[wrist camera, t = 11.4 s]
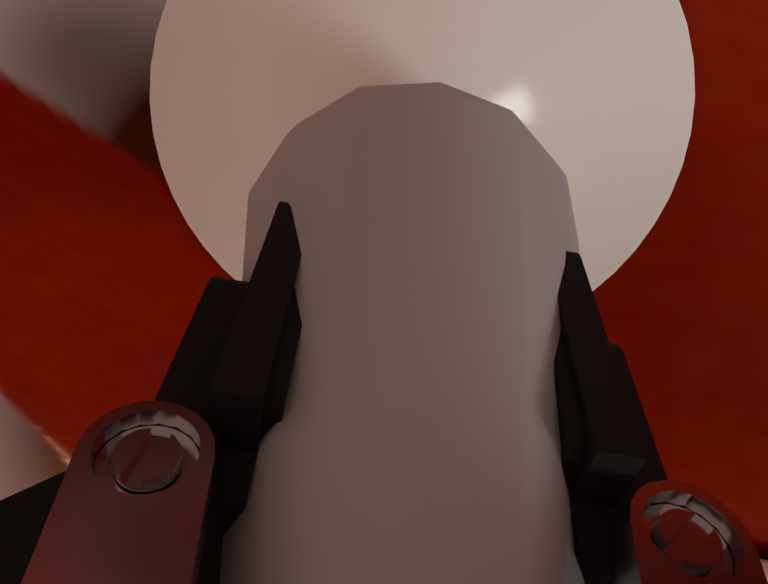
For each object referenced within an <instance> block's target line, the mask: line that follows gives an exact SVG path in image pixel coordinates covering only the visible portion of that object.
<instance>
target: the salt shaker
mask: <svg viewBox="0 0 768 584" xmlns="http://www.w3.org/2000/svg"><path fill="white" fill-rule="evenodd" d="M279 201H283V202H286V203H289V205H290V206H291V209H292V213H293V218H294V222H295V227H296V231H297V236H298V240H299V245H300V249H301V254H302V255H301V259H300V263H299V268H298V272H297V276H296V280H295V284H294V287H295V292H296V297H297V302H298V307H299V312H300V318H301V323H302V327H301V332H300V337H299V341H298V346H297V351H296V355H295V360H294V365H293V370H292V374H291V379H290V384H289V388H288V393H287V398H286V402H285V407H284V412H283V416H282V421H281V422H279V423H276V424H275V425H274V426H273V427H272V428H271V429H270V430H269V431H268V433H267V434H266V435H265V436H264V437H263V438H262V439H261V440H260V441H259V447H258V452H257V456H256V461H255V465H254V470H253V474H252V478H251V483H250V487H249V491H248V496H247V500H246V504H245V509H244V510H243V511H242V513H241V514H240V515H239V517H238V518H237V519H236V520H235V522H234V523H233V524H232V526H231V527H230V528H229V530H228V531H227V532H226V533H225V535H224V536H223V543H222V556H221V570H220V583H219V584H584V579H583V576H582V573H581V570H580V568H579V565H578V562H577V559H576V557H575V549H574V539H573V528H572V517H571V506H570V496H569V492H570V491H569V489H568V488H567V484H566V480H565V476H564V472H563V468H562V456H561V441H560V430H559V419H558V408H557V397H556V386H555V375H554V359H555V354H556V350H557V345H558V341H559V337H560V332H561V328H562V326H561V322H560V312H559V302H558V291H559V287H560V282H561V278H562V274H563V270H564V266H565V256H566V251H570V252H576V253H579V241H578V236H577V230H576V225H575V219H574V214H573V209H572V203H571V198H570V192H569V187H568V181H567V176H566V175H565V174H564V172H563V171H562V169H561V168H560V167H559V165H558V164H557V163H556V162H555V160H554V159H553V158H552V157H551V156H550V154H549V153H548V152H547V151H546V150H545V149H544V147H543V146H542V145H541V144H540V143H539V142H538V140H537V139H536V138H535V137H534V136H533V135H532V133H531V132H530V131H529V130H528V129H527V128H526V126H525V125H524V124H523V123H522V122H521V120H520V119H519V118H518V117H517V116H516V115H515V113H514V112H513V111H512V110H510V109H508V108H505V107H503V106H500V105H497V104H495V103H492V102H490V101H487V100H485V99H482V98H480V97H477V96H475V95H472V94H469V93H467V92H464V91H462V90H459V89H457V88H454V87H452V86H449V85H446V84H444V83H441V82H431V83H412V84H394V85H376V86H360V87H358V88H356V89H355V90H353V91H351V92H350V93H348V94H346V95H345V96H343V97H341V98H340V99H338V100H336V101H335V102H333V103H331V104H330V105H328V106H326V107H324V108H323V109H321V110H319V111H318V112H316V113H314V114H313V115H311V116H309V117H308V118H306V119H304V120H303V121H301V122H299V123H298V124H296V125H295V126H294V127H293V128H292V129H291V130H290V131H289V132H288V133H287V135H286V136H285V138H284V139H283V141H282V142H281V144H280V145H279V147H278V148H277V150H276V151H275V153H274V155H273V156H272V158H271V159H270V161H269V162H268V164H267V165H266V167H265V168H264V170H263V171H262V173H261V174H260V176H259V178H258V179H257V181H256V182H255V184H254V185H253V187H252V188H251V190H250V191H249V193H248V207H247V220H246V234H245V247H244V260H243V274H242V281H245V282H249V281H250V278H251V276H252V273H253V270H254V267H255V265H256V262H257V259H258V257H259V254H260V251H261V248H262V246H263V243H264V240H265V238H266V235H267V232H268V229H269V227H270V224H271V221H272V219H273V216H274V213H275V211H276V208H277V205H278V203H279Z"/></svg>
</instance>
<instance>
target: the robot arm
mask: <svg viewBox="0 0 768 584" xmlns="http://www.w3.org/2000/svg"><path fill="white" fill-rule="evenodd" d="M301 255H302V254H301V249H300V245H299V240H298V236H297V231H296V227H295V222H294V218H293V213H292V209H291V206H290V205H289V203H286V202H283V201H279V203H278V205H277V208H276V211H275V213H274V216H273V219H272V221H271V224H270V227H269V229H268V232H267V235H266V238H265V240H264V243H263V246H262V248H261V251H260V254H259V257H258V259H257V262H256V265H255V267H254V270H253V273H252V276H251V278H250V281H249V282H245V281H239V280H233V279H227V278H221V277H215V276H214V277H212V278H211V279H210V280H209V282H208V284H207V286H206V288H205V290H204V293H203V295H202V297H201V299H200V301H199V304H198V306H197V308H196V310H195V312H194V315H193V317H192V319H191V321H190V324H189V326H188V328H187V330H186V332H185V335H184V337H183V339H182V341H181V343H180V346H179V348H178V350H177V352H176V354H175V357H174V359H173V361H172V363H171V365H170V368H169V370H168V372H167V374H166V377H165V379H164V381H163V383H162V385H161V388H160V390H159V392H158V394H157V396H156V399H155V401H142V402H137V403H133V404H129V405H125V406H121V407H119V408H117V409H115V410H113V411H111V412H109V413H107V414H105V415H103V416H101V417H100V418H99V419H98V420H97V421H95V422H94V423H93V424H92V425H91V426H90V427H89V428H87V429H86V431H85V433H84V434H83V436H82V437H81V439H80V441H79V442H78V444H77V446H76V448H75V451H74V453H73V455H72V458H71V460H70V463H69V465H68V468H67V470H66V471H65V472H63V473H60V474H58V475H56V476H54V477H51V478H49V479H47V480H45V481H43V482H41V483H38V484H36V485H34V486H32V487H30V488H27V489H25V490H23V491H20V492H18V493H16V494H14V495H12V496H9V497H7V498H5V499H3V500H1V501H0V584H219V583H220V570H221V556H222V543H223V536H224V535H225V533H226V532H227V531H228V530H229V528H230V527H231V526H232V524H233V523H234V522H235V520H236V519H237V518H238V517H239V515H240V514H241V513H242V511H243V510H244V509H245V504H246V500H247V496H248V491H249V487H250V483H251V478H252V474H253V470H254V465H255V461H256V456H257V452H258V447H259V441H260V440H261V439H262V438H263V437H264V436H265V435H266V434H267V433H268V431H269V430H270V429H271V428H272V427H273V426H274V425H275V424H276V423H279V422H281V421H282V416H283V412H284V407H285V402H286V398H287V393H288V388H289V384H290V379H291V374H292V370H293V365H294V360H295V355H296V351H297V346H298V341H299V337H300V332H301V327H302V323H301V318H300V312H299V307H298V302H297V297H296V292H295V287H294V284H295V280H296V276H297V272H298V268H299V263H300V259H301ZM558 302H559V312H560V322H561V326H562V328H561V332H560V337H559V341H558V345H557V350H556V354H555V359H554V375H555V386H556V397H557V408H558V419H559V430H560V441H561V456H562V468H563V472H564V476H565V480H566V484H567V488H568V489H569V491H570V492H569V496H570V506H571V517H572V528H573V539H574V549H575V557H576V559H577V562H578V565H579V568H580V570H581V573H582V576H583V579H584V584H768V582H767V579H766V576H765V573H764V570H763V566H762V563H761V560H760V557H759V554H758V551H757V548H756V546H755V544H754V542H753V540H752V538H751V536H750V534H749V532H748V530H747V529H746V528H745V526H744V525H743V524H742V523H741V521H740V520H739V519H738V518H737V516H736V515H735V514H734V513H733V512H732V511H731V510H729V509H728V508H727V507H726V506H725V505H724V504H722V503H721V502H720V501H719V500H718V499H716V498H714V497H713V496H711V495H709V494H708V493H706V492H704V491H702V490H701V489H699V488H696V487H693V486H690V485H688V484H685V483H682V482H676V481H668V480H667V477H666V474H665V471H664V469H663V466H662V463H661V460H660V457H659V454H658V451H657V448H656V445H655V443H654V440H653V437H652V434H651V431H650V428H649V425H648V422H647V419H646V416H645V414H644V411H643V408H642V405H641V402H640V399H639V396H638V393H637V390H636V387H635V385H634V382H633V379H632V376H631V373H630V370H629V367H628V364H627V361H626V358H625V356H624V353H623V351H622V349H621V347H620V346H618V345H617V344H615V343H610V342H609V341H608V338H607V335H606V332H605V329H604V326H603V323H602V320H601V317H600V314H599V311H598V308H597V305H596V301H595V298H594V295H593V292H592V289H591V286H590V283H589V280H588V277H587V274H586V271H585V268H584V265H583V261H582V258H581V256H580V254H579V253H576V252H570V251H566V256H565V266H564V270H563V274H562V278H561V282H560V287H559V291H558Z"/></svg>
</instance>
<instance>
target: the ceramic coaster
mask: <svg viewBox="0 0 768 584" xmlns="http://www.w3.org/2000/svg"><path fill="white" fill-rule="evenodd" d="M431 82H441V83H444V84H446V85H449V86H452V87H454V88H457V89H459V90H462V91H464V92H467V93H469V94H472V95H475V96H477V97H480V98H482V99H485V100H487V101H490V102H492V103H495V104H497V105H500V106H503V107H505V108H508V109H510V110H512V111H513V112H514V113H515V115H516V116H517V117H518V118H519V119H520V120H521V122H522V123H523V124H524V125H525V126H526V128H527V129H528V130H529V131H530V132H531V133H532V135H533V136H534V137H535V138H536V139H537V140H538V142H539V143H540V144H541V145H542V146H543V147H544V149H545V150H546V151H547V152H548V153H549V154H550V156H551V157H552V158H553V159H554V160H555V162H556V163H557V164H558V165H559V167H560V168H561V169H562V171H563V172H564V174H565V175H566V176H567V181H568V187H569V192H570V198H571V203H572V209H573V214H574V219H575V225H576V230H577V236H578V241H579V254H580V256H581V258H582V261H583V265H584V268H585V271H586V274H587V277H588V280H589V283H590V286H591V289H592V292H593V291H594V290H595V289H596V288H597V287H598V286H600V285H601V284H602V283H603V282H604V281H605V280H607V279H608V278H609V277H610V276H611V275H612V274H614V273H615V272H616V271H617V270H618V269H619V267H620V266H621V265H622V264H623V263H624V262H625V261H626V260H627V259H628V258H629V257H630V256H631V255H632V253H633V252H634V251H635V250H636V249H637V248H638V246H639V245H640V244H641V242H642V241H643V239H644V238H645V237H646V235H647V234H648V233H649V231H650V230H651V229H652V227H653V226H654V224H655V223H656V221H657V219H658V217H659V216H660V214H661V212H662V210H663V208H664V207H665V205H666V203H667V201H668V199H669V198H670V196H671V193H672V191H673V188H674V186H675V183H676V181H677V178H678V176H679V173H680V171H681V168H682V166H683V162H684V158H685V154H686V150H687V147H688V143H689V139H690V135H691V129H692V120H693V111H694V102H695V80H694V59H693V53H692V48H691V42H690V37H689V31H688V26H687V22H686V19H685V16H684V13H683V11H682V8H681V5H680V2H679V0H167V1H166V4H165V7H164V10H163V13H162V16H161V20H160V23H159V26H158V29H157V32H156V38H155V44H154V50H153V56H152V61H151V71H150V109H151V119H152V128H153V136H154V140H155V144H156V148H157V152H158V156H159V160H160V164H161V168H162V170H163V173H164V175H165V178H166V181H167V183H168V186H169V188H170V191H171V194H172V196H173V198H174V200H175V202H176V203H177V205H178V207H179V209H180V211H181V213H182V215H183V216H184V218H185V220H186V222H187V224H188V225H189V226H190V228H191V229H192V231H193V232H194V234H195V235H196V236H197V238H198V239H199V241H200V242H201V244H202V245H203V246H204V248H205V249H206V250H207V251H208V252H209V253H210V255H211V256H212V257H213V258H214V259H215V260H216V261H217V262H218V264H219V265H220V266H221V267H222V268H223V269H224V270H225V271H226V272H227V273H228V274H229V275H230V276H232V277H233V278H234V279H235V280H239V281H242V274H243V260H244V247H245V234H246V220H247V207H248V193H249V191H250V190H251V188H252V187H253V185H254V184H255V182H256V181H257V179H258V178H259V176H260V174H261V173H262V171H263V170H264V168H265V167H266V165H267V164H268V162H269V161H270V159H271V158H272V156H273V155H274V153H275V151H276V150H277V148H278V147H279V145H280V144H281V142H282V141H283V139H284V138H285V136H286V135H287V133H288V132H289V131H290V130H291V129H292V128H293V127H294V126H295V125H296V124H298V123H299V122H301V121H303V120H304V119H306V118H308V117H309V116H311V115H313V114H314V113H316V112H318V111H319V110H321V109H323V108H324V107H326V106H328V105H330V104H331V103H333V102H335V101H336V100H338V99H340V98H341V97H343V96H345V95H346V94H348V93H350V92H351V91H353V90H355V89H356V88H358V87H360V86H376V85H394V84H412V83H431Z"/></svg>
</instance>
